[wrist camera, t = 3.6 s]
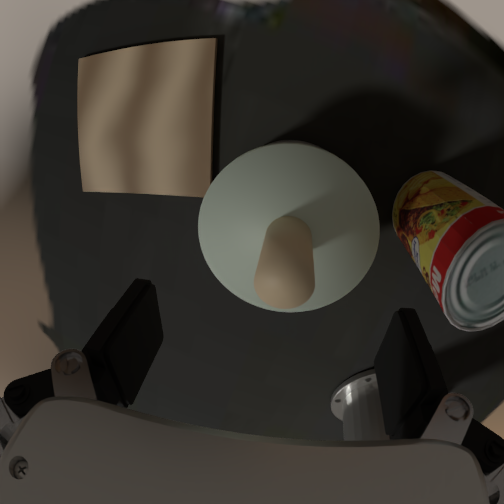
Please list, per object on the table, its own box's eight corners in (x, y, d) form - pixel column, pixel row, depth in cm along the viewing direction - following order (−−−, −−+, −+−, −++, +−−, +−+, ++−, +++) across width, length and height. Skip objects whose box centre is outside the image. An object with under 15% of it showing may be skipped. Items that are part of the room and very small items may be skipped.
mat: (217, 39, 20) (215, 38, 20) (212, 195, 27) (210, 197, 26) (82, 59, 22) (78, 58, 21) (86, 189, 28) (83, 191, 28)
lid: (390, 156, 17) (430, 181, 11) (355, 311, 23) (367, 373, 17) (202, 136, 18) (160, 152, 13) (204, 293, 24) (177, 351, 18)
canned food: (377, 233, 26) (419, 315, 16) (413, 155, 22) (488, 196, 12) (440, 261, 26) (493, 341, 16) (476, 192, 23) (552, 249, 12)
